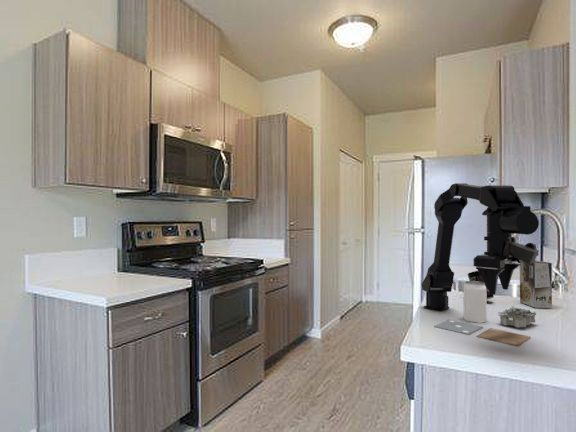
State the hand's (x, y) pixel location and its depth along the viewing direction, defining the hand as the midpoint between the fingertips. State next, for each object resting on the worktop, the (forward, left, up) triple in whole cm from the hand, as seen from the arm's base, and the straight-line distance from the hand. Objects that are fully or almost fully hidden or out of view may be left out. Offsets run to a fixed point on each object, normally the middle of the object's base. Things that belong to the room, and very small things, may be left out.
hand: (499, 291), depth 97 cm
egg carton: (+1, +20, -14) cm, 24 cm away
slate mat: (-12, +3, -13) cm, 18 cm away
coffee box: (-5, +52, -13) cm, 54 cm away
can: (-12, +15, -13) cm, 23 cm away
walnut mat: (0, +3, -13) cm, 13 cm away
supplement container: (-21, +44, -13) cm, 51 cm away
